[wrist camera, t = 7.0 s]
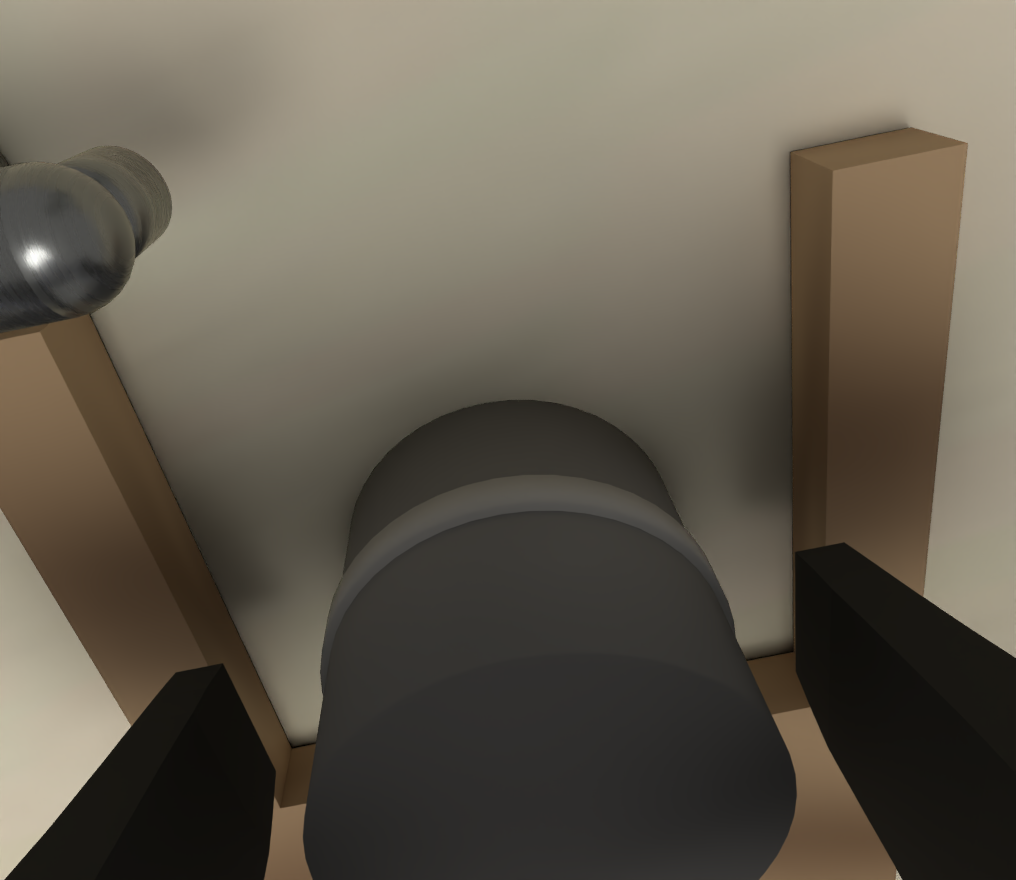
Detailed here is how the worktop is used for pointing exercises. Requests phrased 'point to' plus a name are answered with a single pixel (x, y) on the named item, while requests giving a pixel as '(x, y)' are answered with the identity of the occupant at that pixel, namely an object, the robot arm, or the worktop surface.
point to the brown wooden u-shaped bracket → (815, 448)
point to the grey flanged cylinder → (536, 672)
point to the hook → (74, 232)
